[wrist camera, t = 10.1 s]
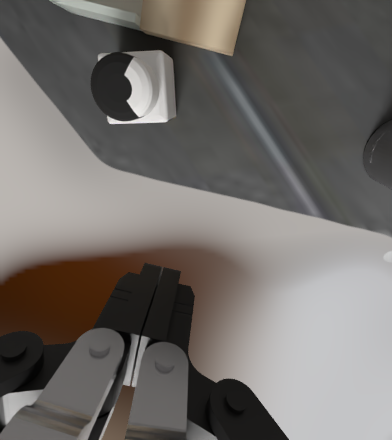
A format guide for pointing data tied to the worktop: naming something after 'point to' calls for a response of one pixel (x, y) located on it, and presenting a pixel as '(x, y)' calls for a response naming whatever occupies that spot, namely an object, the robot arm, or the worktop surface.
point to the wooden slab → (194, 22)
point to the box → (106, 10)
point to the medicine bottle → (135, 86)
